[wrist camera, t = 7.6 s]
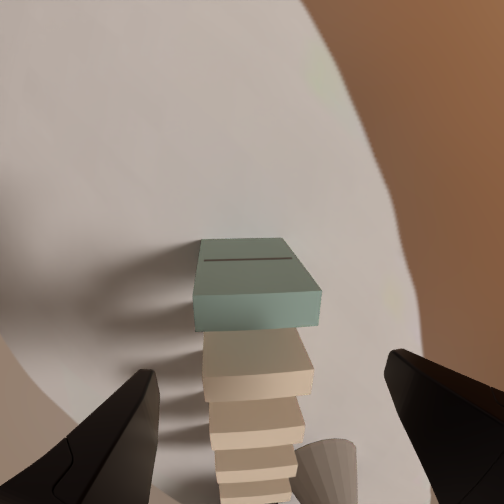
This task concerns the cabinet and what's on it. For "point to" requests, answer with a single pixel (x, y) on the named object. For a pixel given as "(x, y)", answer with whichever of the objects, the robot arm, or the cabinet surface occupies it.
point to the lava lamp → (326, 473)
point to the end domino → (256, 492)
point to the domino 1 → (252, 287)
